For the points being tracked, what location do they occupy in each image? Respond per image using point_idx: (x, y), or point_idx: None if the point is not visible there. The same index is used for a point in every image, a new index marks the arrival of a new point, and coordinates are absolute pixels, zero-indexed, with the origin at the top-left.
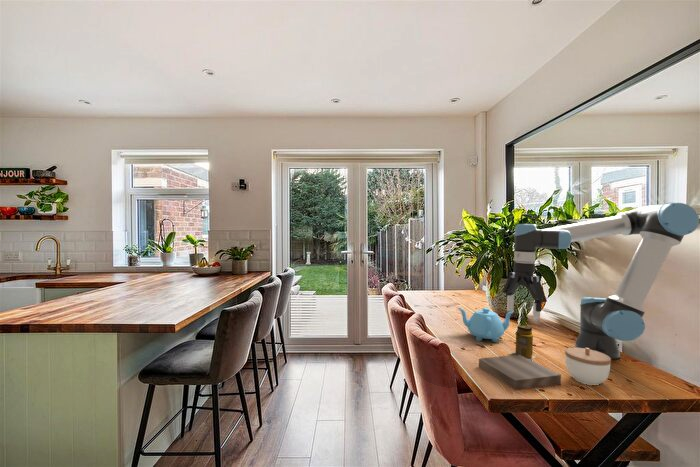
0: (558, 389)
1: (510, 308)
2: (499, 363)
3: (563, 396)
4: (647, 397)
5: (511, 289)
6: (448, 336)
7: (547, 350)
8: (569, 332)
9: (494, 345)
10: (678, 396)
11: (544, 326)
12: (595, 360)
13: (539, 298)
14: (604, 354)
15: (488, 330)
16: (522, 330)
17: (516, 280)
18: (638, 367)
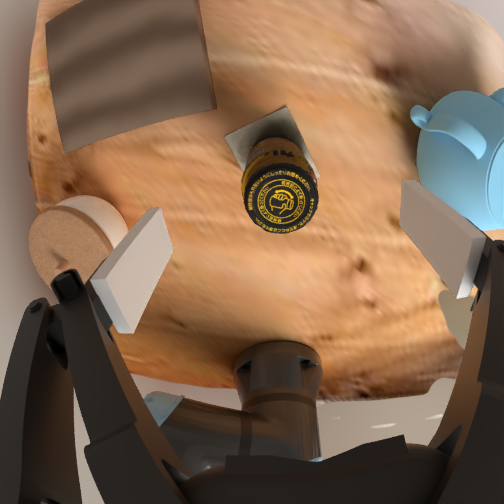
0: (56, 126)
1: (409, 207)
2: (139, 5)
3: (34, 120)
4: None
5: (490, 300)
6: (475, 38)
7: (312, 276)
8: (394, 387)
9: (389, 127)
10: None
11: (442, 365)
12: (29, 245)
13: (30, 319)
14: None
15: (431, 118)
16: (259, 169)
17: (462, 495)
18: (192, 372)
